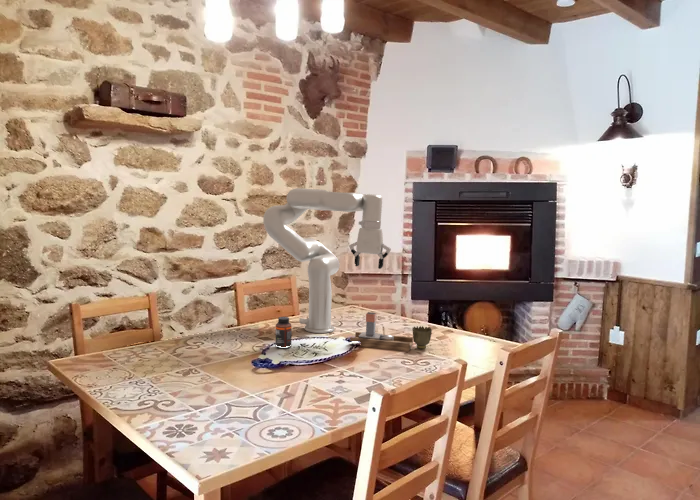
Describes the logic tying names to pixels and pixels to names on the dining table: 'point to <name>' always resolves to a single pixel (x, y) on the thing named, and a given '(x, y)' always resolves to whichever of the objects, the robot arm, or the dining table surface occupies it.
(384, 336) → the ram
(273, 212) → the robot arm
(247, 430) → the dining table surface
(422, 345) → the cup
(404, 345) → the board
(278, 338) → the supplement bottle
